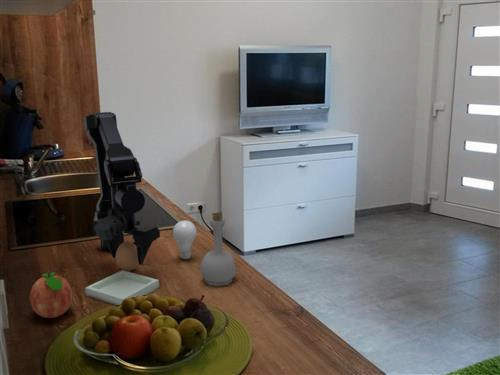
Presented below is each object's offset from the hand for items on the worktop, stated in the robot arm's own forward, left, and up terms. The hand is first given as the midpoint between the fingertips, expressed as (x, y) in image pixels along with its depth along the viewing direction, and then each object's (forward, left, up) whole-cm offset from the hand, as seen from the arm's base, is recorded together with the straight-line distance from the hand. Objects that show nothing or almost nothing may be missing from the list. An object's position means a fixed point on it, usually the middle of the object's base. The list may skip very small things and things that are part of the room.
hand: (127, 260), depth 137 cm
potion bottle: (+24, +7, -3) cm, 25 cm away
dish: (+8, -10, -3) cm, 13 cm away
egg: (0, 0, -3) cm, 3 cm away
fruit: (+3, -26, -3) cm, 26 cm away
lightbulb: (+8, +14, -3) cm, 16 cm away
